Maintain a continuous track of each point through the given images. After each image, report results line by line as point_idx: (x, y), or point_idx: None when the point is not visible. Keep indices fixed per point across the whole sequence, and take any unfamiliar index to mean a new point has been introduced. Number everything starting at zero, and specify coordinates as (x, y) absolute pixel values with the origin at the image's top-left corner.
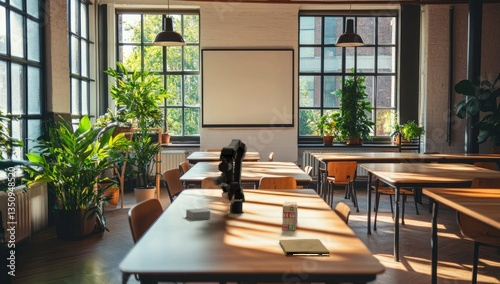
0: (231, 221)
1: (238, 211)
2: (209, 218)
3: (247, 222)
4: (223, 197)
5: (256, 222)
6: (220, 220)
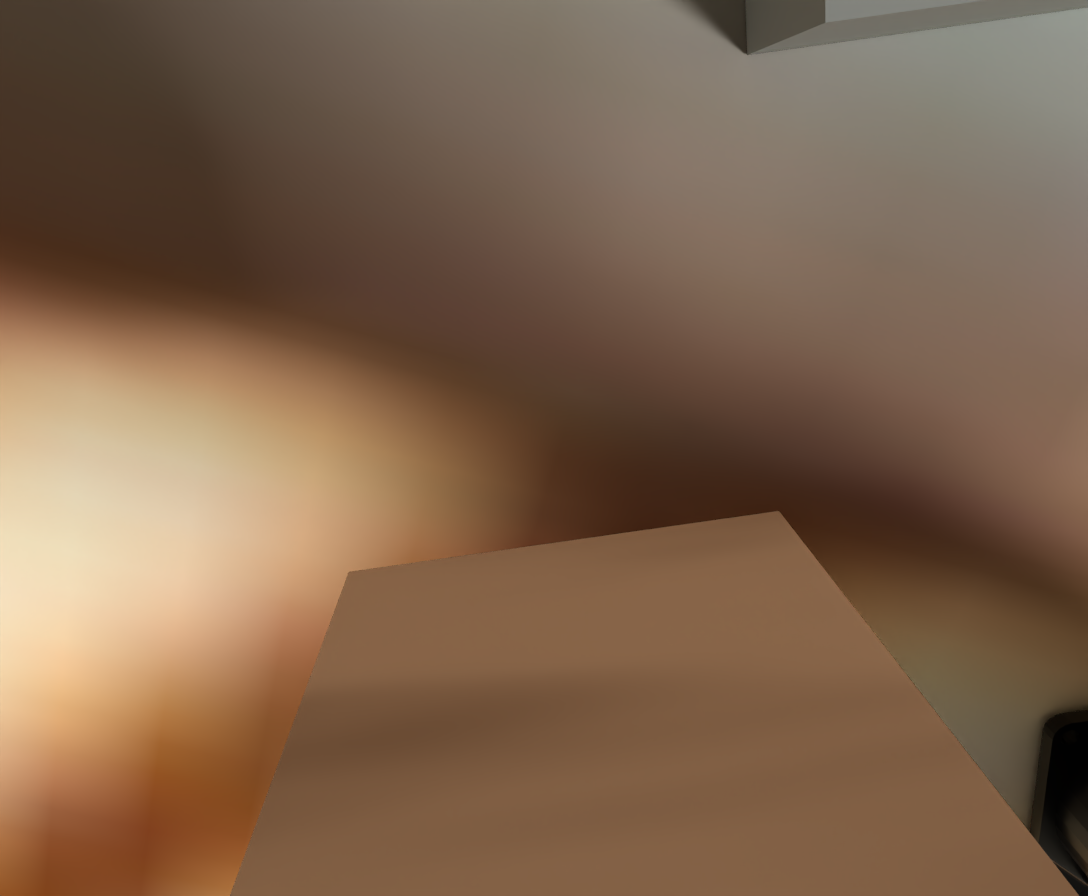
0: (282, 466)
1: (1068, 823)
2: (748, 29)
3: (133, 721)
4: (603, 692)
5: (118, 851)
6: (449, 257)
